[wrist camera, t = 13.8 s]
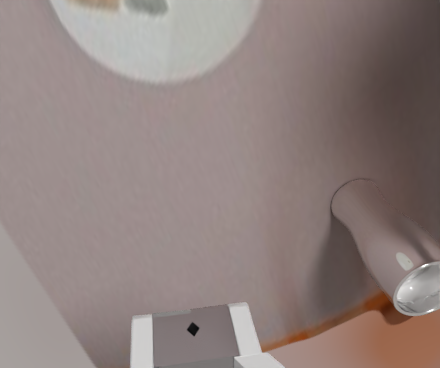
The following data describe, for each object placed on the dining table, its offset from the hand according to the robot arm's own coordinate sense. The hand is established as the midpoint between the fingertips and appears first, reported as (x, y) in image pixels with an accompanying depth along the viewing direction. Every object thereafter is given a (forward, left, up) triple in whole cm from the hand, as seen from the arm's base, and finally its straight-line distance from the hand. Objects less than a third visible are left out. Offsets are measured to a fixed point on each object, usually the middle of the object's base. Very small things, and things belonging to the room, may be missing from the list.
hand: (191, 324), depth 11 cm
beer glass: (-22, +18, -31) cm, 42 cm away
